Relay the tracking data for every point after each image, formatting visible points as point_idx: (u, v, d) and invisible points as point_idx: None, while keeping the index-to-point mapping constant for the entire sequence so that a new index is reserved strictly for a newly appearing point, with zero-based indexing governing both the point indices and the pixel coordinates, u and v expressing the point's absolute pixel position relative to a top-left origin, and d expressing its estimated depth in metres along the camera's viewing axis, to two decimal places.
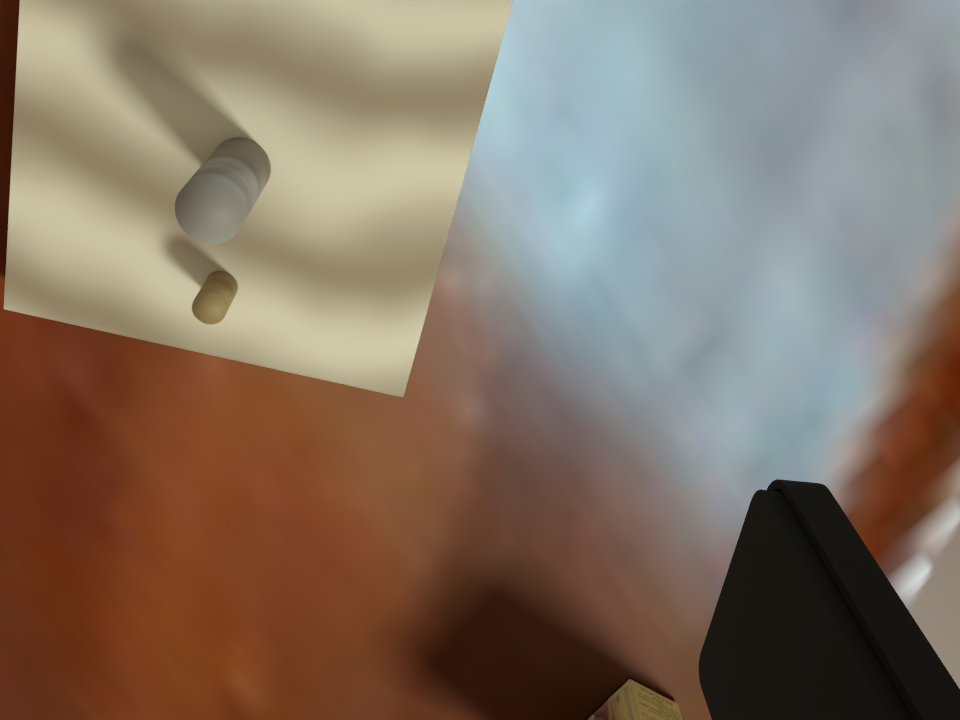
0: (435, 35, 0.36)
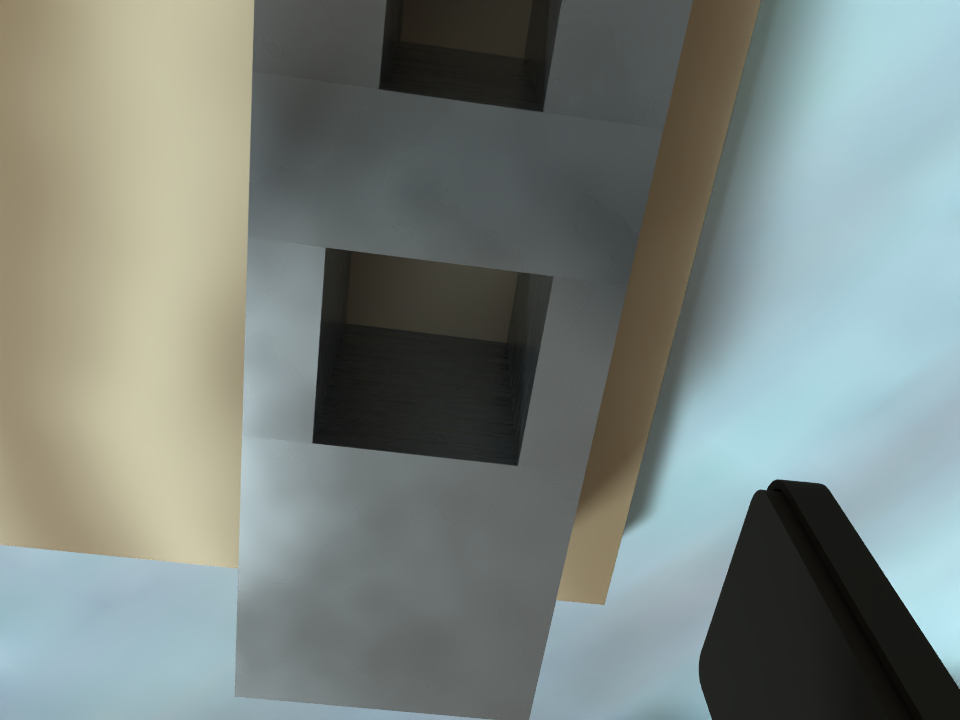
0: (139, 474, 0.22)
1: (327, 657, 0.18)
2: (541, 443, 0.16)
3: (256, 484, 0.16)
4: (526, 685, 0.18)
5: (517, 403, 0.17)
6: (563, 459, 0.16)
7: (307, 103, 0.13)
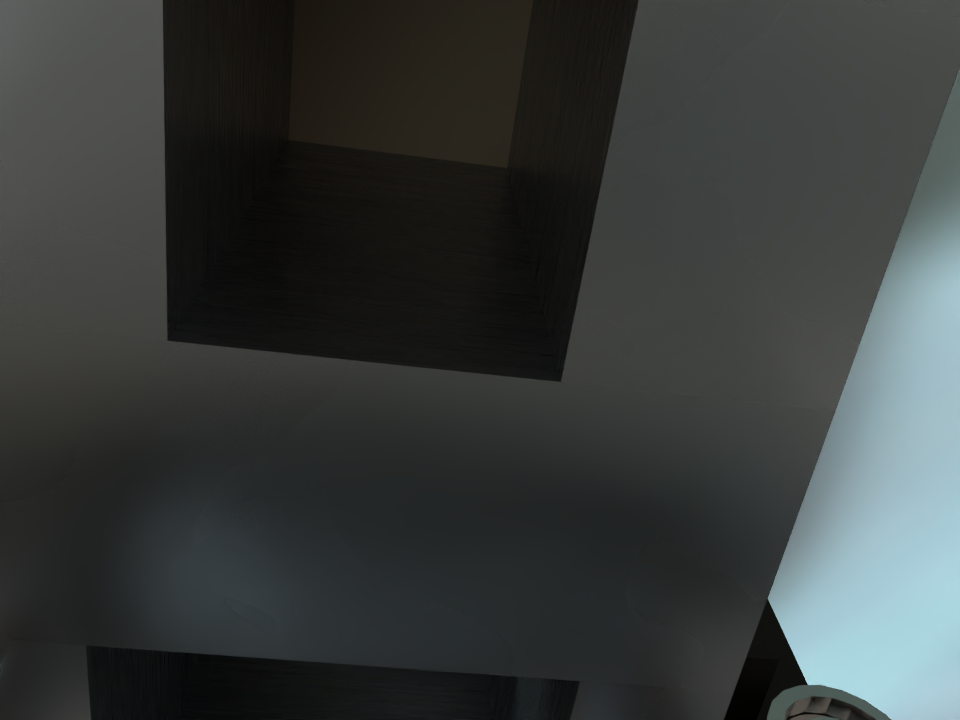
0: None
1: None
2: None
3: None
4: None
5: None
6: None
7: None
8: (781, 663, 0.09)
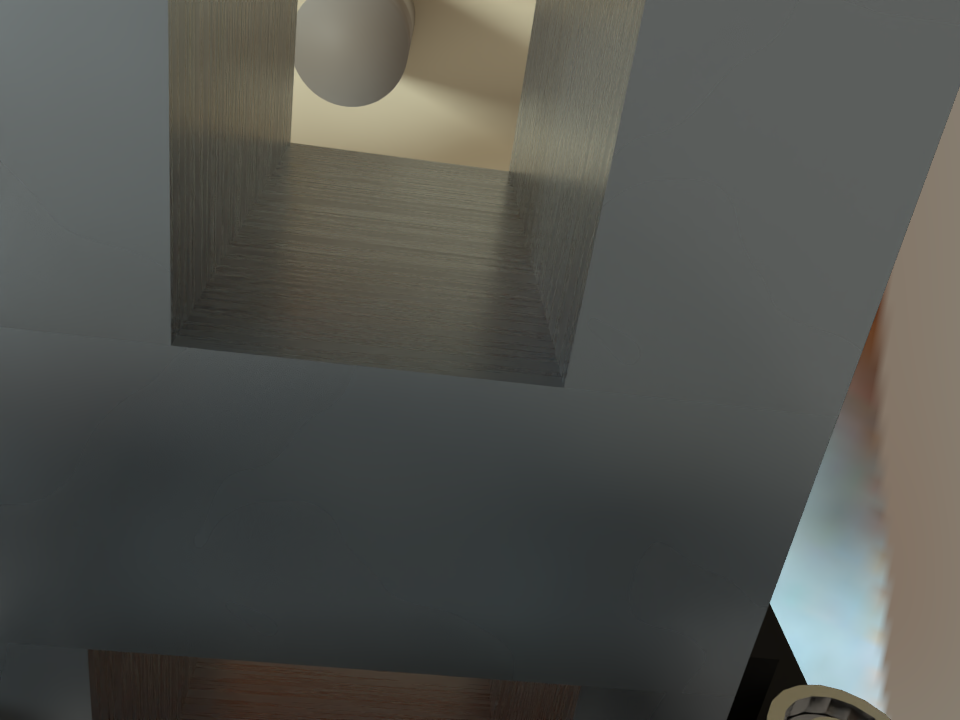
0: None
1: None
2: None
3: None
4: None
5: None
6: None
7: (2, 376, 0.06)
8: (781, 662, 0.09)
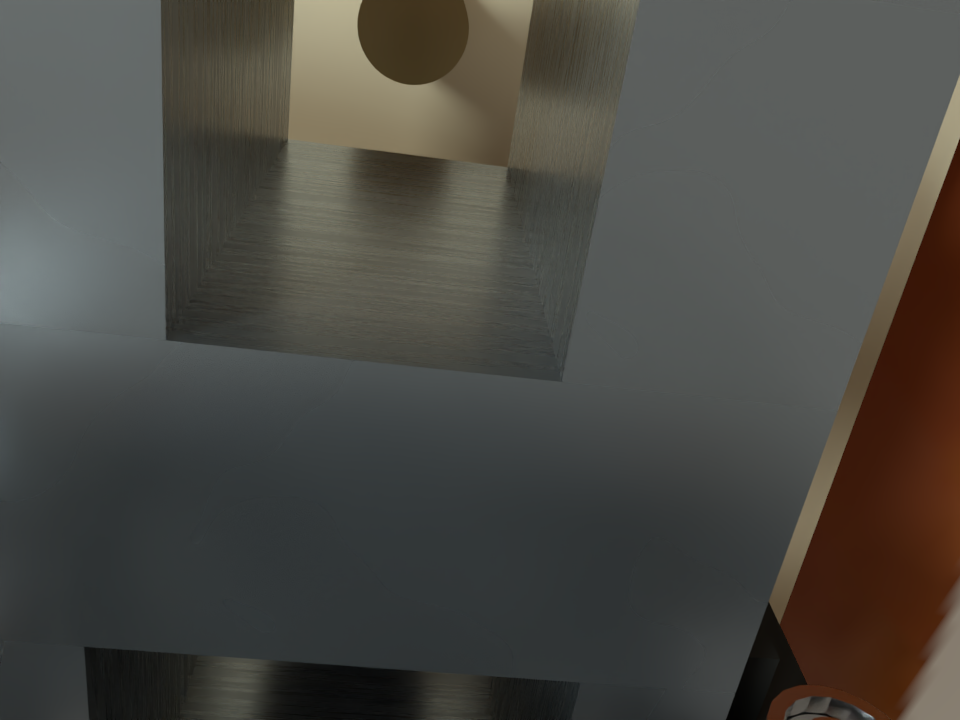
0: None
1: None
2: None
3: None
4: None
5: None
6: None
7: None
8: (781, 662, 0.09)
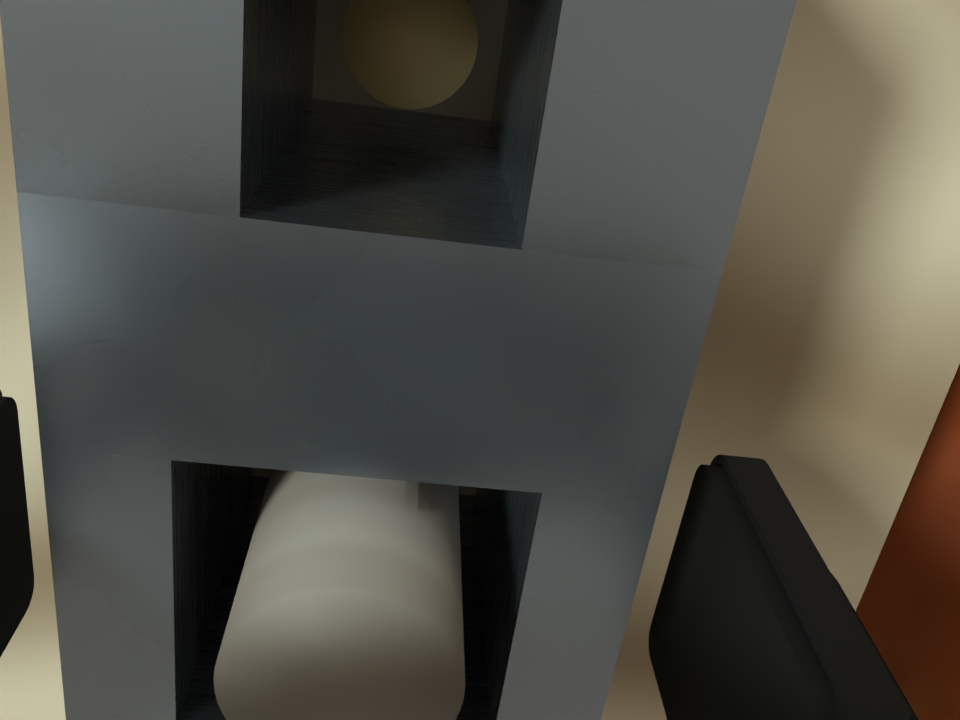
0: None
1: None
2: (526, 716, 0.11)
3: None
4: None
5: (490, 627, 0.12)
6: None
7: (119, 241, 0.08)
8: None
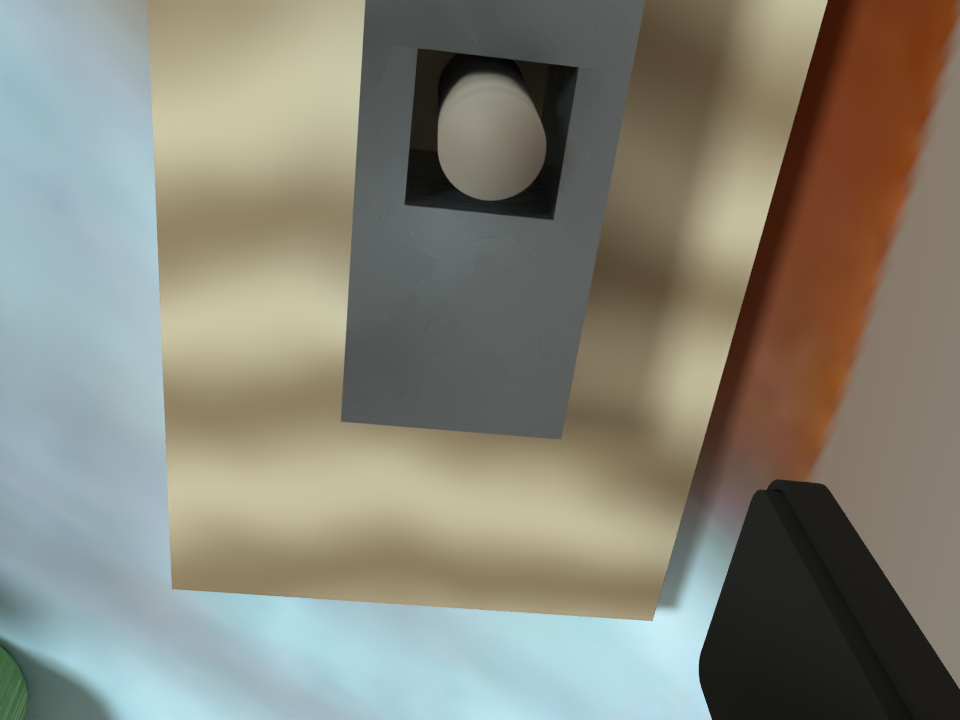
0: (245, 299, 0.28)
1: (411, 385, 0.24)
2: (570, 200, 0.22)
3: (362, 239, 0.22)
4: (559, 406, 0.25)
5: (549, 184, 0.23)
6: (586, 214, 0.22)
7: None
8: None
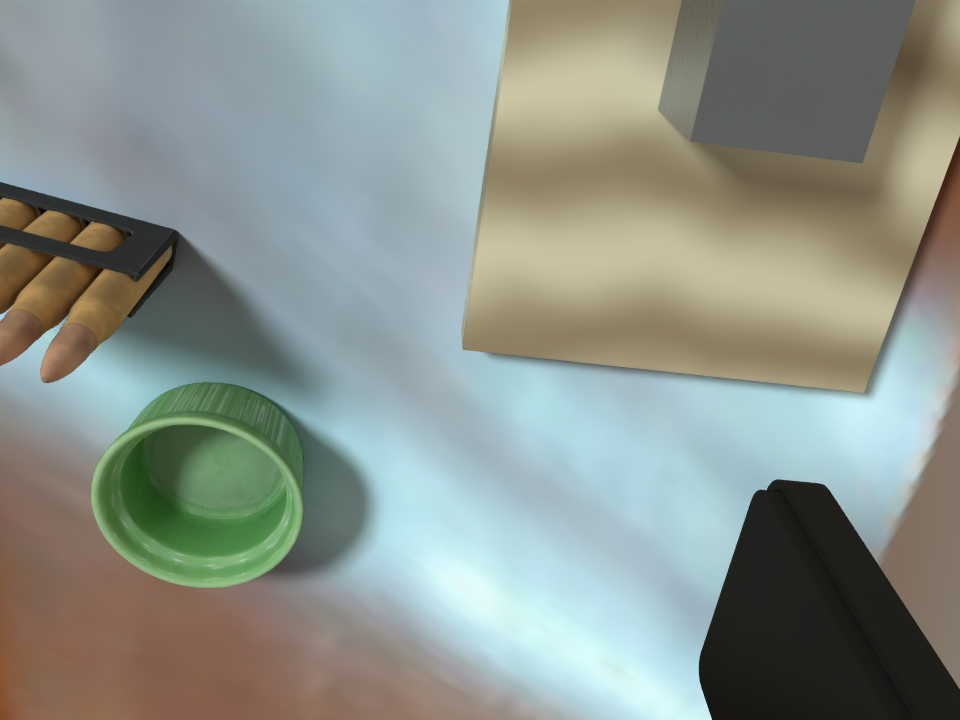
0: (573, 71, 0.34)
1: (752, 109, 0.30)
2: None
3: None
4: (866, 132, 0.30)
5: None
6: None
7: None
8: None
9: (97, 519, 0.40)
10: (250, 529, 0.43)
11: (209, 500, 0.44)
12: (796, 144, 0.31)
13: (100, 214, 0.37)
